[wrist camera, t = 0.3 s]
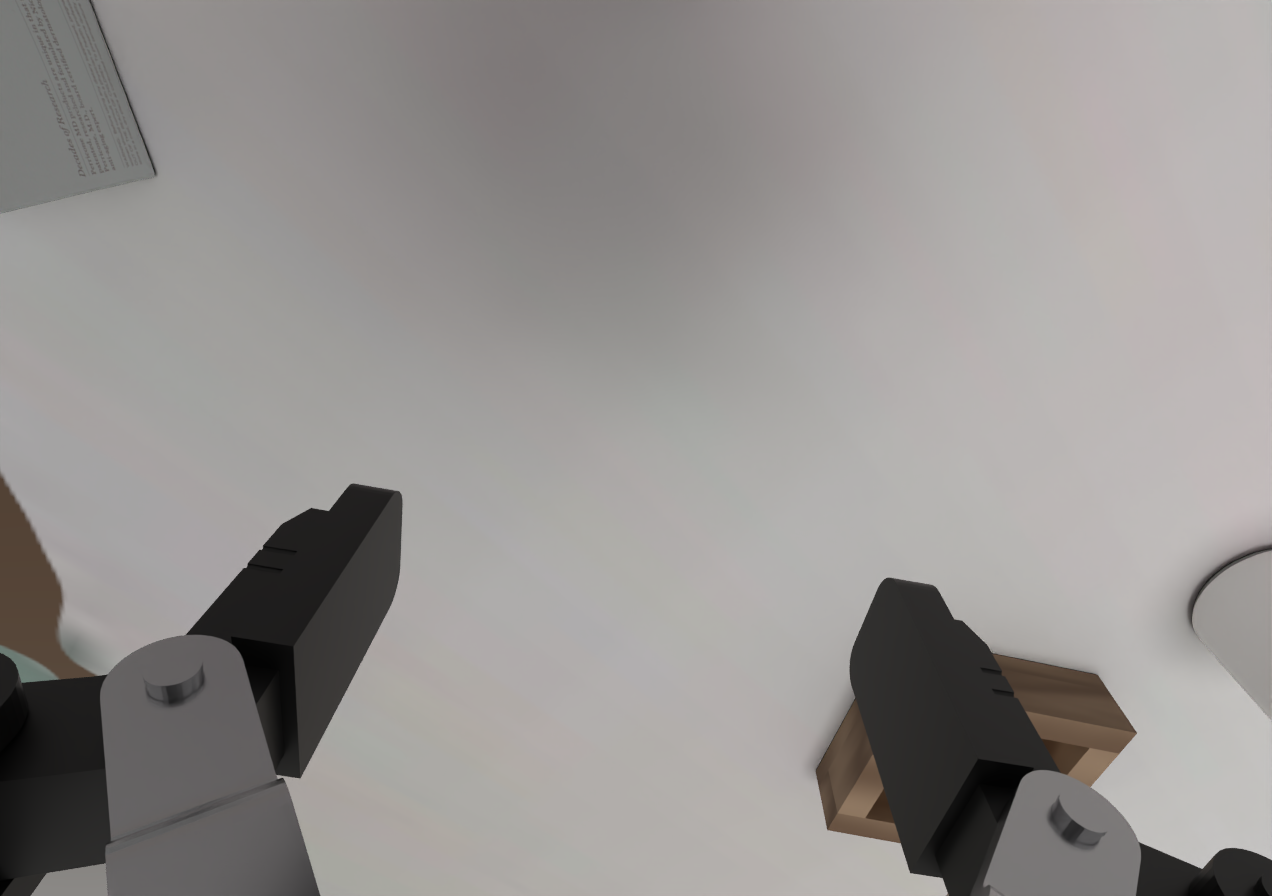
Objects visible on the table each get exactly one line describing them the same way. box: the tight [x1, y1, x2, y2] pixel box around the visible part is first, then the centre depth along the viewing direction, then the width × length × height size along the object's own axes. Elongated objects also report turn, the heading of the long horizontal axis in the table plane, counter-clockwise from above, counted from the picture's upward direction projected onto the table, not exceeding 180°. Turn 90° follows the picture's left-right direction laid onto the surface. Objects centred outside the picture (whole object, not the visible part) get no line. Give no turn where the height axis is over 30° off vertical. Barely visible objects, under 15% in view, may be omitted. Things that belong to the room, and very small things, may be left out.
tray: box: [816, 654, 1137, 843], centre depth 37 cm, size 11×11×4 cm
